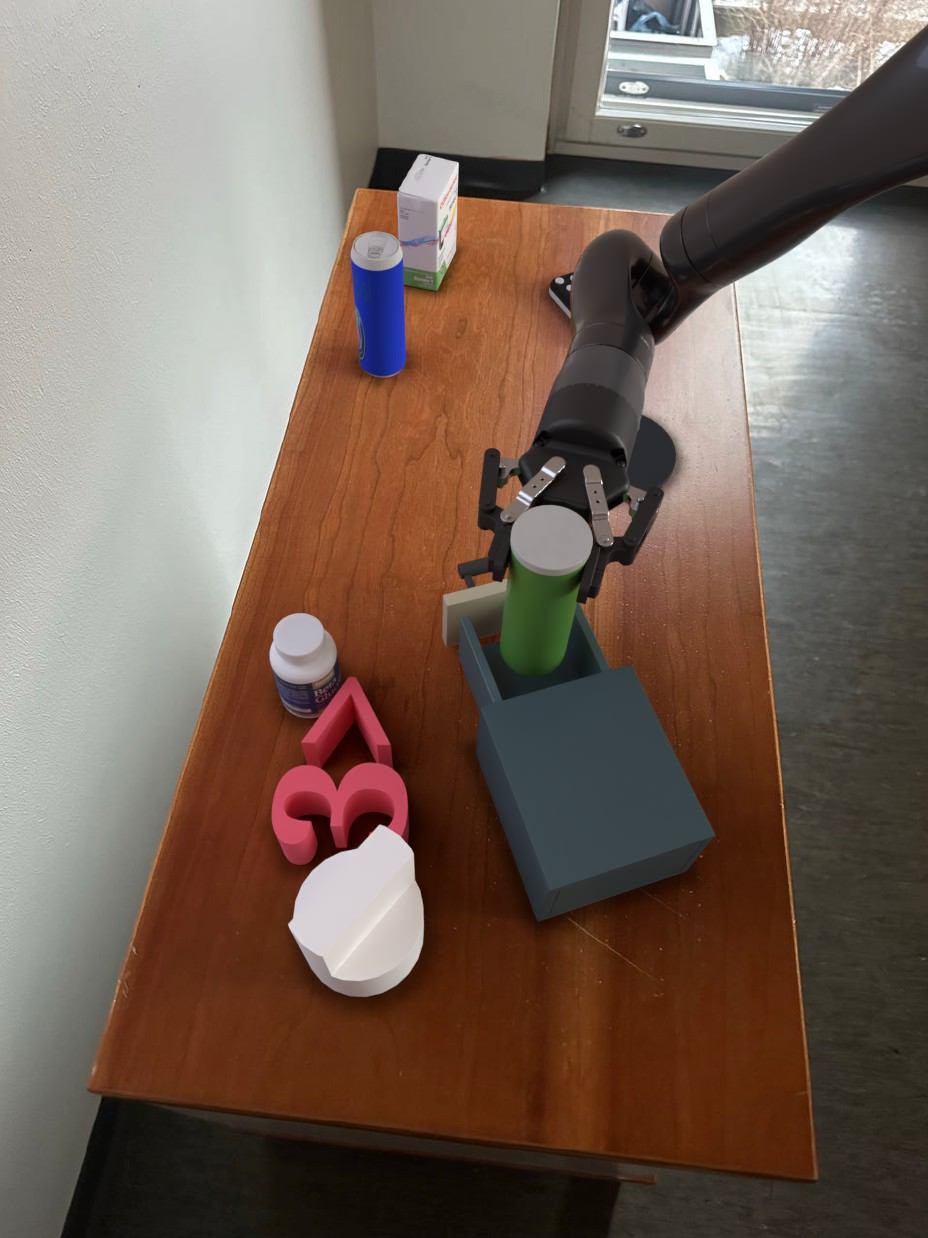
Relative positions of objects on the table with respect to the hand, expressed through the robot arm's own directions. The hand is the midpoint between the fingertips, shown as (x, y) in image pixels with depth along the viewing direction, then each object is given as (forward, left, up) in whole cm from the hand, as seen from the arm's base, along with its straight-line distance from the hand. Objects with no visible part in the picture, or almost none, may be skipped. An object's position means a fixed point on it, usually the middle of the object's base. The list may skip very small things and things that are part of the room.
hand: (540, 585), depth 62 cm
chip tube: (-1, -2, -13) cm, 13 cm away
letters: (+16, +2, -19) cm, 25 cm away
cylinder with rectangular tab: (+18, +14, -19) cm, 30 cm away
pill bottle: (+17, -7, -19) cm, 26 cm away
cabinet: (-1, +10, -19) cm, 21 cm away
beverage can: (0, -45, -19) cm, 49 cm away
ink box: (-10, -60, -19) cm, 64 cm away
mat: (-20, -25, -19) cm, 37 cm away
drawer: (-1, -4, -18) cm, 18 cm away
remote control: (-27, -46, -19) cm, 56 cm away
